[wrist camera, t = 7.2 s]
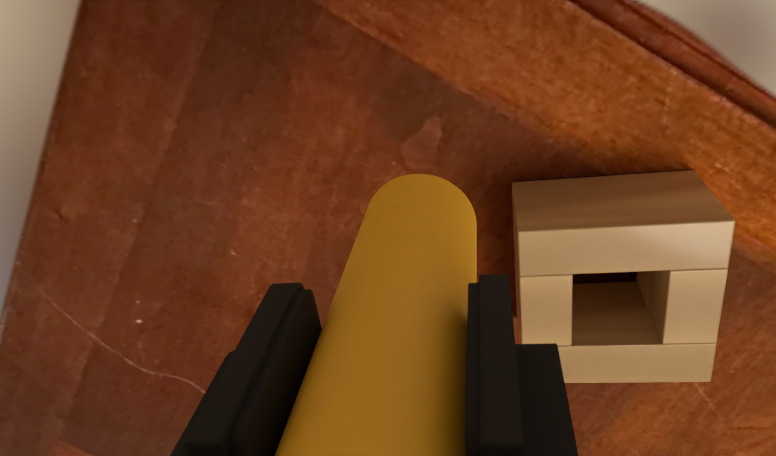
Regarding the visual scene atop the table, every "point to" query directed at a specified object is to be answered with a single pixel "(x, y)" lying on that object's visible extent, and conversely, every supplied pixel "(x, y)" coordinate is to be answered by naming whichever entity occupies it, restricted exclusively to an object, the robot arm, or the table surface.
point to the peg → (394, 332)
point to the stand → (622, 254)
